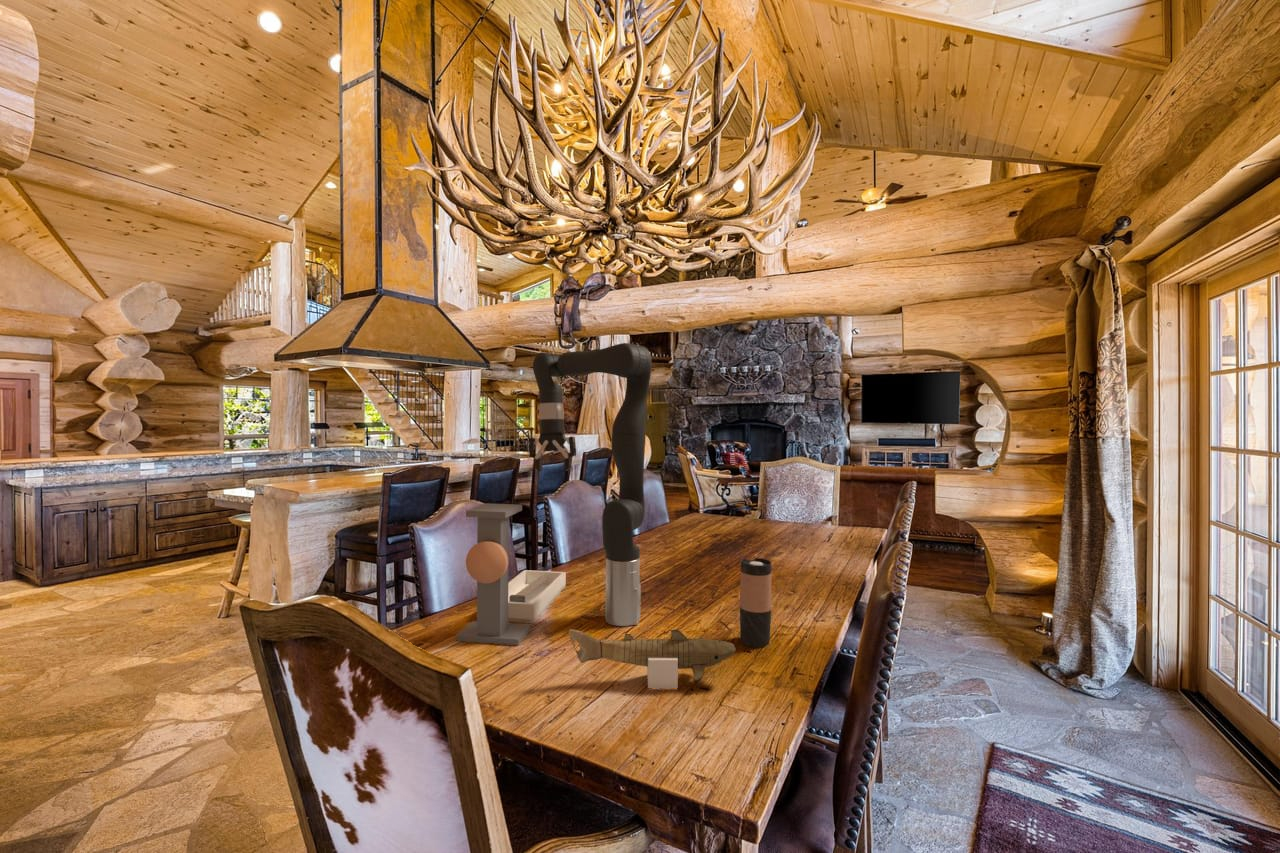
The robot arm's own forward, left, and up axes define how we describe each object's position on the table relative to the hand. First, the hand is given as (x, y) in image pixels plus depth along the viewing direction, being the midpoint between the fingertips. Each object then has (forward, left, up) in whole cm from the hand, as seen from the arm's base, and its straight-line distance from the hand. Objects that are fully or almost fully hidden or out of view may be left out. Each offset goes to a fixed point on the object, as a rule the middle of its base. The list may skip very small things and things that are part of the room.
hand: (553, 471), depth 161 cm
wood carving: (-36, +46, -39) cm, 71 cm away
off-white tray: (+6, +5, -39) cm, 40 cm away
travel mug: (-59, +22, -39) cm, 75 cm away
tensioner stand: (+6, +29, -39) cm, 49 cm away
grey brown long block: (+5, +4, -38) cm, 38 cm away
